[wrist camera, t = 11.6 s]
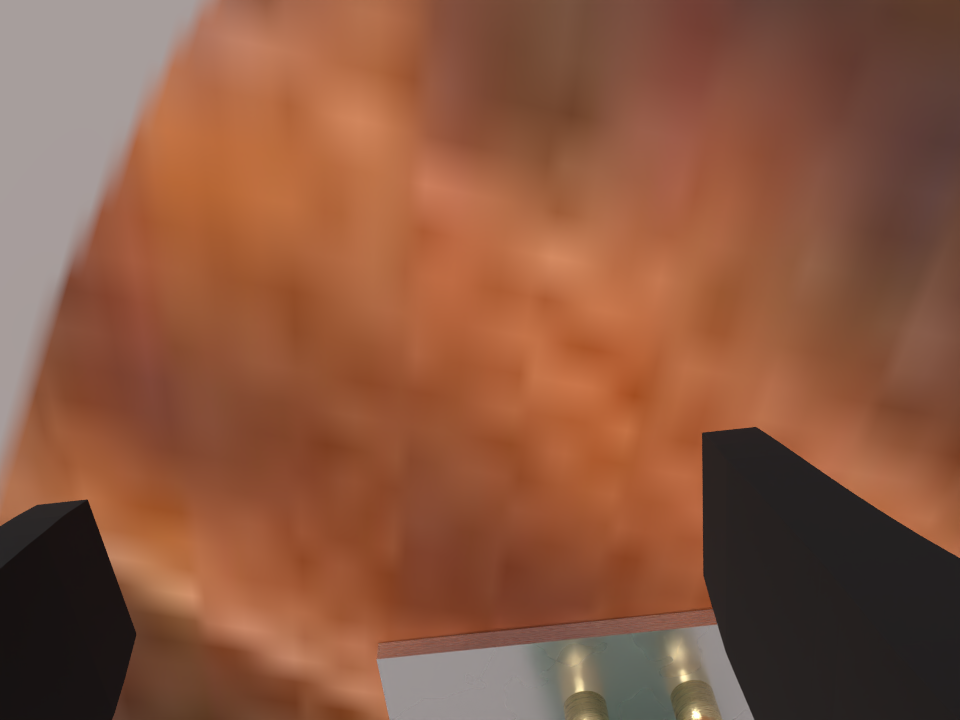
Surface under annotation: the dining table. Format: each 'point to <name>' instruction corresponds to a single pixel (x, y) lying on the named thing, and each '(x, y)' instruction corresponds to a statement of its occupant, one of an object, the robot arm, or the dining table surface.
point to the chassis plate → (560, 670)
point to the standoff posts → (688, 699)
